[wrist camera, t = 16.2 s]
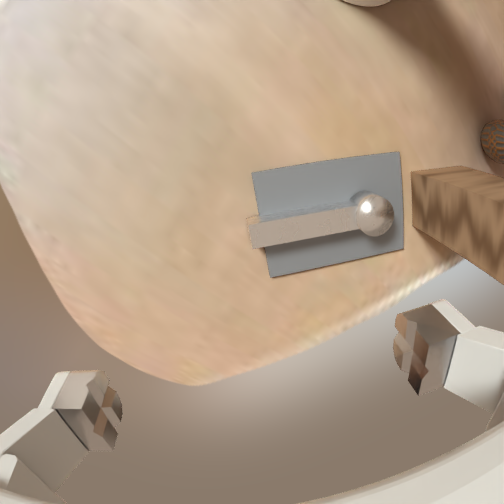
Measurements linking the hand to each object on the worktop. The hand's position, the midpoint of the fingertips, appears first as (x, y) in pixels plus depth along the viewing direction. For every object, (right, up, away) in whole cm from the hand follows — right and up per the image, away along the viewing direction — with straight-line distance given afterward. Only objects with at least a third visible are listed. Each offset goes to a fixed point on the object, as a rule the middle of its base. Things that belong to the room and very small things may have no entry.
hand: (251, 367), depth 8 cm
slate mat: (+11, +8, +34) cm, 36 cm away
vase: (+38, +21, +31) cm, 54 cm away
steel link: (+8, +7, +33) cm, 35 cm away
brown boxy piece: (+28, +11, +34) cm, 45 cm away
